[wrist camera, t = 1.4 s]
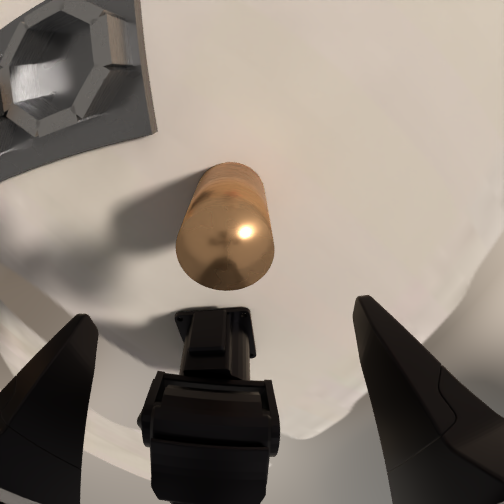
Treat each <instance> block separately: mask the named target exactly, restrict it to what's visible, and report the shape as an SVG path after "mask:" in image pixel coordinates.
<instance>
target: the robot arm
mask: <svg viewBox="0 0 504 504" xmlns="http://www.w3.org/2000/svg"><path fill="white" fill-rule="evenodd" d="M242 313H246V314H242ZM179 317H181V318H179ZM175 322H176V324H177V327H178V329H179V332H180V335H181V337H182V340H183V342H184V348H183V354H182V360H181V366H180V372H179V375H177V374H169V373H165V372H162V371H157V374H156V377H155V379H153V381H152V384H151V387H150V390H149V392H148V395H147V398H146V401H145V404H144V407H143V409H142V412H141V413H140V415H139V417H138V419H137V424H138V426H139V427H140V428H141V430H142V437H143V443H144V445H145V446H146V447H150V457H151V487H152V489H153V491H154V493H155V494H156V496H157V498H158V499H159V500H165V501H170V503H171V504H260V503H261V501H262V500H263V498H264V497H265V495H266V484H267V475H268V467H269V457H275V456H276V455H277V453H278V448H279V441H280V421H279V414H278V409H277V405H276V400H275V395H274V390H273V385H272V380H264V381H252V380H250V358H254V357H256V348H255V341H254V334H253V327H252V320H251V313H250V310H249V309H248V308H233V309H220V310H205V311H190V312H178V313H176V315H175ZM353 323H354V329H355V334H356V340H357V346H358V352H359V358H360V363H361V367H362V371H363V374H364V378H365V382H366V385H367V389H368V393H369V396H370V400H371V404H372V408H373V412H374V416H375V420H376V424H377V428H378V433H379V436H380V441H381V445H382V450H383V455H384V459H385V464H386V469H387V472H388V473H387V475H388V480H389V485H390V491H391V496H392V502H393V504H504V418H503V417H501V416H500V415H498V414H497V413H496V412H494V411H493V410H492V409H491V408H489V407H488V406H487V405H486V404H485V403H484V402H482V401H481V400H480V399H479V398H478V397H476V396H475V395H474V394H473V393H472V392H471V391H469V390H468V389H467V388H466V387H465V386H464V385H462V384H461V383H460V382H459V381H458V380H457V379H456V378H455V377H454V376H453V375H452V374H451V373H450V372H449V371H448V370H447V369H446V368H445V367H444V366H441V363H440V362H439V361H438V360H437V359H436V358H435V357H434V356H433V355H432V354H431V353H430V352H429V351H428V350H427V349H426V348H425V347H424V346H423V345H422V344H421V343H420V342H419V341H418V340H417V339H416V338H415V337H414V336H413V335H411V334H410V333H409V332H408V331H407V330H406V329H405V328H404V327H403V326H402V325H401V324H400V323H399V322H398V321H397V320H396V319H395V318H394V317H393V316H392V315H390V314H389V313H388V312H387V311H386V310H385V309H384V308H383V307H382V306H381V305H380V304H379V303H378V302H377V301H375V300H374V299H373V298H372V297H371V296H369V295H364V296H358V297H357V298H356V301H355V306H354V311H353ZM97 341H98V329H97V327H96V326H95V324H94V323H93V321H92V320H91V318H90V317H89V315H87V314H77V315H76V316H75V317H74V318H72V319H71V320H70V321H69V322H68V323H67V324H66V325H65V326H64V327H63V328H62V329H61V330H60V331H59V332H58V333H57V334H56V335H55V336H54V337H53V338H52V339H51V340H50V341H49V342H48V343H47V344H46V345H45V346H44V347H43V348H42V349H41V350H40V351H39V352H38V353H37V354H36V355H35V356H34V357H33V358H32V359H31V360H30V361H29V362H28V363H27V364H26V365H25V366H24V367H23V368H22V370H21V371H20V372H19V373H18V374H17V376H15V377H14V378H13V379H12V380H11V381H10V382H9V383H8V385H7V386H6V387H5V388H4V389H3V390H2V391H1V392H0V504H80V486H81V485H80V484H81V466H82V454H83V453H82V452H83V443H84V434H85V426H86V419H87V411H88V404H89V399H90V393H91V387H92V381H93V375H94V369H95V359H96V350H97Z"/></svg>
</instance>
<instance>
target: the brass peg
mask: <svg viewBox="0 0 504 504" xmlns="http://www.w3.org/2000/svg"><path fill="white" fill-rule="evenodd" d="M176 254H177V258H178V261H179V263H180V265H181V267H182V269H183V270H184V271H185V273H186V274H187V275H188V276H189V277H190V278H192V279H193V280H194V281H196V282H197V283H199V284H201V285H203V286H205V287H208V288H211V289H216V290H224V291H228V290H238V289H242V288H245V287H248V286H250V285H252V284H254V283H255V282H257V281H258V280H259V279H261V278H262V277H263V276H264V275H265V274H266V272H267V271H268V269H269V268H270V266H271V264H272V261H273V258H274V242H273V236H272V230H271V224H270V218H269V213H268V207H267V201H266V196H265V190H264V186H263V183H262V181H261V179H260V177H259V176H258V175H257V173H256V172H254V171H253V170H252V169H251V168H249V167H247V166H245V165H243V164H240V163H234V162H226V163H221V164H218V165H216V166H213V167H212V168H210V169H209V170H208V171H206V172H205V174H204V175H203V176H202V177H201V179H200V181H199V183H198V186H197V188H196V190H195V193H194V195H193V198H192V200H191V203H190V205H189V208H188V210H187V213H186V215H185V218H184V220H183V223H182V225H181V228H180V231H179V233H178V236H177V240H176Z"/></svg>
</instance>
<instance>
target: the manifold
mask: <svg viewBox="0 0 504 504" xmlns="http://www.w3.org/2000/svg"><path fill="white" fill-rule="evenodd" d="M157 131H158V130H157V125H156V119H155V113H154V107H153V101H152V95H151V88H150V81H149V75H148V67H147V60H146V52H145V44H144V35H143V26H142V16H141V5H140V0H45V1H44V2H42V3H40V4H39V5H37V6H35V7H34V8H32V9H30V10H29V11H27V12H26V13H24V14H22V15H21V16H19V17H18V18H16V19H15V20H13V21H12V22H11V23H9V24H8V25H6V26H5V27H4V28H2V29H1V30H0V181H2V180H4V179H7V178H9V177H12V176H14V175H17V174H19V173H22V172H24V171H27V170H30V169H32V168H35V167H38V166H41V165H43V164H46V163H49V162H52V161H55V160H58V159H61V158H64V157H67V156H71V155H74V154H77V153H80V152H84V151H87V150H91V149H94V148H98V147H102V146H105V145H109V144H113V143H117V142H121V141H125V140H130V139H134V138H138V137H143V136H147V135H152V134H154V133H155V132H157Z"/></svg>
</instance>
